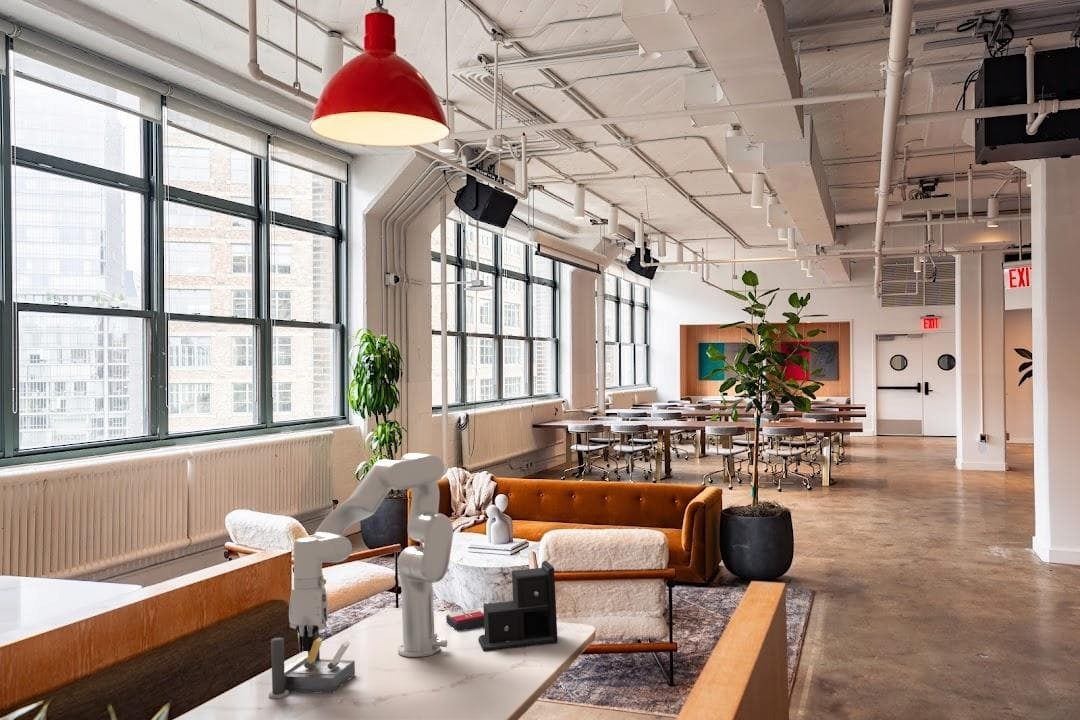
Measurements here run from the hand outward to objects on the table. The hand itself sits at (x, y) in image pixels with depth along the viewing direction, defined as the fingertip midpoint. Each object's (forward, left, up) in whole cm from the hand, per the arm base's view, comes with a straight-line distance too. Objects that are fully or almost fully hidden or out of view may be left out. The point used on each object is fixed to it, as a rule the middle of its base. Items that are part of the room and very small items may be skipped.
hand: (308, 649), depth 235 cm
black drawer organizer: (-49, -41, -9) cm, 65 cm away
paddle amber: (0, -1, -4) cm, 4 cm away
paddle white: (-7, -1, -4) cm, 8 cm away
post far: (+4, -11, -9) cm, 14 cm away
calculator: (-29, -59, -10) cm, 66 cm away
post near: (+4, +9, -9) cm, 14 cm away
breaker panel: (-2, -1, -9) cm, 9 cm away
